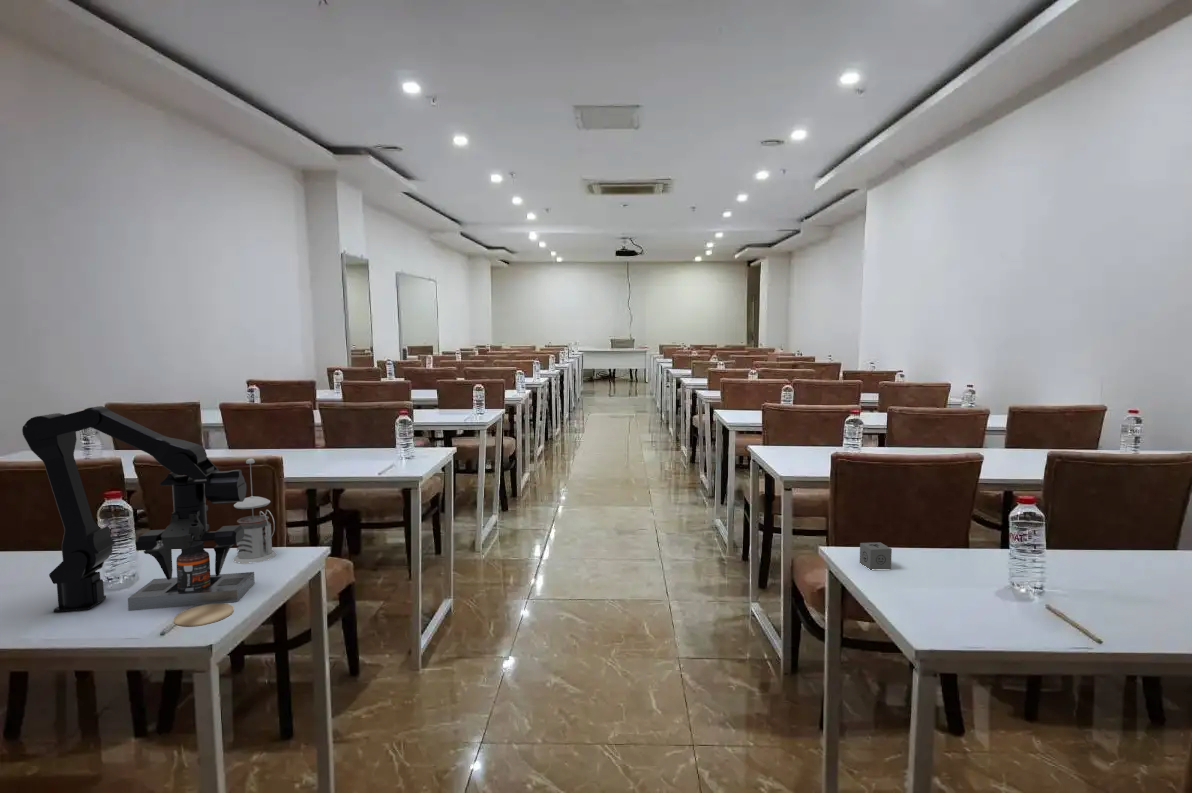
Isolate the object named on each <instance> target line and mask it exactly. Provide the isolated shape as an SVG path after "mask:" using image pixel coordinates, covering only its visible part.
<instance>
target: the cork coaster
mask: <svg viewBox="0 0 1192 793" xmlns="http://www.w3.org/2000/svg"><path fill="white" fill-rule="evenodd" d="M234 610H235V609H234V606H233V605H232V604H229V603H215V604H204V605H196V606H194V607H191V608H188V609H185V610H183V611H181V612H179V613H178V614H176V616H174V619H173V623H174V624H175V625H176V626H179V627H199V626H204V625H205V626H206V625H210V624H213V623H216V622H220V621H222V620H224V619H226V618H228V617H230V616H231V615H232V614H233V613H234Z"/></svg>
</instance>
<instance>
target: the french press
mask: <svg viewBox="0 0 1192 793" xmlns="http://www.w3.org/2000/svg"><path fill="white" fill-rule="evenodd" d="M255 462H256V461H255V459H254V458H248V459H246V460H245V464H247V465H248V464H249V470H250V471H249V473H250V476H249V477H250V494H251V496H248V497H245V499H244V501H243V502H235V503H234V504H233V507H234V508H235V509H241V510H246V509H247V510H248V509H249V510H250V509H251V512H252V515H249V516H243V517H241V518H239V519H237V520H236V523H237V524H238V525H241V526H242V527H243V529H244V538H242V539H241V540H240V541H239V542H238V543H237V544H236V546H237V547H236V551H237V553H236V554H237V555H235V557H233V559H234V561H236V562H240V563H239V564H242V563H245V564H250V563H249V562H256V563H260V562H259V561H262V562H264V561H263V560H265V561H269V560H271V559H273V558H275V557H276V556H277V552H276V551H275V550H274V549H273V544H272V543H273V542H272V537H273V535H274V533H275V528H276V526H275V524H276V523H275V519H274V516H273V514H272V513H271V511H270V510H269V509H265V513H264V512H263V511H262V510H259V515H254V509H256V508H258V509H259V508H263V507H266V506H268V505H270V503H271V500H270V499H268V498H266V497H262V496H253V480H252V477H253V476H252V464H255ZM268 513H269V515H270V516H271V519H272V522H273V530H272V526H271V525H272V523H271V522H270V521H269V519H270V516H267V514H268ZM263 529H264V530H263ZM264 533H265V534H264ZM270 558H271V559H270ZM268 559H269V560H268Z"/></svg>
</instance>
